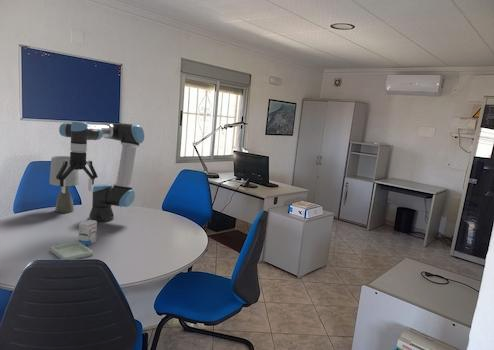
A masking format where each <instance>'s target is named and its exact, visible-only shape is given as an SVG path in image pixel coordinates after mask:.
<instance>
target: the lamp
mask: <svg viewBox="0 0 494 350" xmlns="http://www.w3.org/2000/svg"><path fill="white" fill-rule="evenodd" d="M50 161H51V163H50V170H49V171H50V172H49V183H48V184H49V185H52V186H57V187H58V186H60V180H59V179H56V176H57V174H58V173H59V171H60V169H61V167H62V165H63V161H70V155H69V156H66V155H65V156H64V155H63V156H61V155H59V156H58V155H57V156H52V157H51V160H50ZM70 166H71V165H70V164H68V165H67V167H66V169H65V171H64V173H65V172H66V171H67V170H68V168H69V167H70ZM64 173H63V174H64ZM64 180H65V181H66V185H65V193H62V187H61V186H60V187H59V189H60V191H59V192H58V195H57V198H56V204H55V208H54V209H55V210H54V212H56V213H58V214H69V213H73V212H74V210H75V209H74V208H75V207H74V201H73V196H72V193H71V191H70V189H71V187H72V186H79V185H81V170H80V169H78V170H75V169H74V170H73V171H72V172H71V173H70V174H69V175H68V176H67V177H66V178H65V179H64Z"/></svg>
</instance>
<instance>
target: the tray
mask: <svg viewBox="0 0 494 350" xmlns="http://www.w3.org/2000/svg"><path fill="white" fill-rule="evenodd" d="M50 252H51V253H52V254H54V255H55V256H57V257H58V258H59V259H60V260H61V259H75V260H79V259H85V258H87V257H91V256H93V255H94V251H93V250H92V249H90V248H89V247H87V246H84V245H83V244H81V243H80V242H79V241H75V242H69V243H63V244H59V245H53V246H50Z"/></svg>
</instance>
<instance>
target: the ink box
mask: <svg viewBox="0 0 494 350" xmlns="http://www.w3.org/2000/svg"><path fill="white" fill-rule="evenodd" d="M97 223H98V222H97V221H95V220H89V219H87V220H84V221H81V222H80V223H79V224H78V242H80V243H81V244H83V245H84V246H86V247H87V246H90V245H91V244H93V243H96V242H97V230H98V229H97V226H98V224H97Z"/></svg>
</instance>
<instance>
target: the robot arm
mask: <svg viewBox="0 0 494 350" xmlns="http://www.w3.org/2000/svg"><path fill="white" fill-rule="evenodd" d="M58 129H59V130H58V132H59V135H60V136H62V137H64V138H70V150H69V151H70V152H69V157H70V161H63V165H62V167H61V169H60V171H59V173H58V174H57V176H56V179H59V180H60V187H62V193H65V185H66V181H65V180H64V179H65V178H66V177H67V176H68V175H69V174H70V173H71V172H72V171H73V170H74V169H75V170H78V169H80V171H84V173H86V174H87V176H88V177H89V178H88V185H87V186H88V187H87V188H88V191H89V192H92V203H91V205H92V206H91V207H92V208H91V210H90V213H89V215H88V220H95V221H97V223H98V222H99V223H101V222H102V223H105V222H110V221H113V220H114V218H115V216H114V215H115V214H114V212H113V208H112V206H116V207H120V208H128V207H131V205H132V204H133V203H134V201H135V198H136V193H135V191H134V190H133V186H132V184H131V182H132V178H133V177H132V176H133V170H134V165H135V158H136V153H137V149H138V148H139V147H140V144H142V143H143V142H144V140H145V133H144V132H145V131H144V128H143V127H142V126H141V125H138V124H133V123H123V122H116V123H115V122H113V123H103V124H88V122H86V121H76V120H73V121H72V122H71V123H69V122H68V123H67V122H64V123H61V124H60V126H59V127H58ZM102 138H103V139H107V140H115V141H119V142H120V144H121V146H122V148H121V153H120V158H119V159H120V160H119V166H118V172H117V179H116V183H114V184H111V183H99V184H96V185H94V182H95V179H97V178H98V177H99V176H98V174H97V172H96V170H95V167H94V166H93V161H92V160H87V152H88V151H87V150H88V149H87V146H88V141H97V140H99V141H100V139H102ZM68 164H70V165H71V166H70V167H69V168H68V170H67V171H66V172H65V173H64V171H65V169H66V167H67V165H68ZM86 165H87V166H88V168H89V169H90V171H89V169H88V168H87V167H86ZM63 173H64V174H63Z"/></svg>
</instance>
